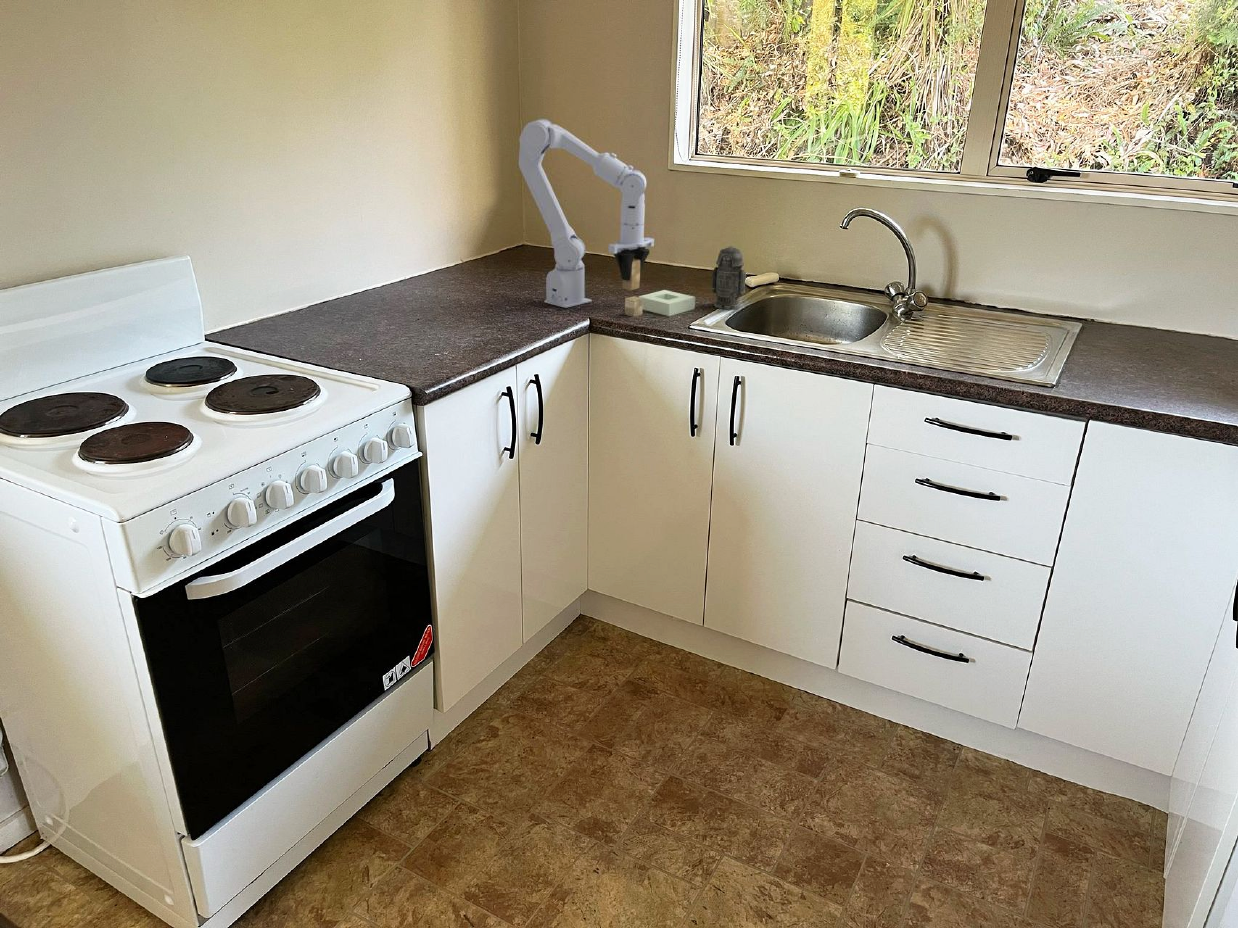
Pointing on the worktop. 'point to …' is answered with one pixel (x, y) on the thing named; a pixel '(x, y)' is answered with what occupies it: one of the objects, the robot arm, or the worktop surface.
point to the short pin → (633, 306)
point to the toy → (729, 279)
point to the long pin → (633, 276)
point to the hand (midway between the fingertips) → (630, 279)
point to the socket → (667, 302)
